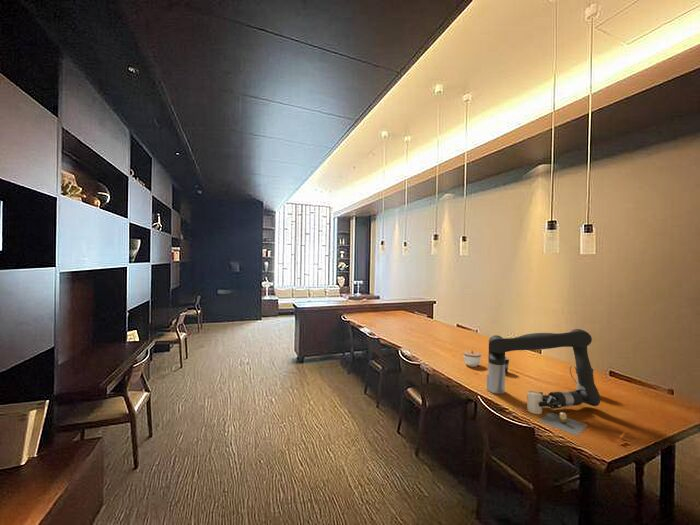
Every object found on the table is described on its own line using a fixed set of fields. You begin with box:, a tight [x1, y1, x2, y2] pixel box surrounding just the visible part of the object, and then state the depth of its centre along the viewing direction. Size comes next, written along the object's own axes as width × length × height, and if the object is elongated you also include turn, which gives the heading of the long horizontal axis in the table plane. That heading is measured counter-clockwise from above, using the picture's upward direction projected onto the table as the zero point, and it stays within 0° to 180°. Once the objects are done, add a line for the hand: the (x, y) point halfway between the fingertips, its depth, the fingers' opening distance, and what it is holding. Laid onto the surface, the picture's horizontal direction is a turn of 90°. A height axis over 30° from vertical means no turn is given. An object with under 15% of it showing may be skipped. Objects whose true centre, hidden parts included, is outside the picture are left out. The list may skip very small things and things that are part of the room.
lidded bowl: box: [463, 350, 482, 368], centre depth 238 cm, size 13×13×11 cm
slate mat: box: [538, 411, 588, 436], centre depth 152 cm, size 16×15×1 cm
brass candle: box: [559, 411, 568, 424], centre depth 152 cm, size 3×3×5 cm
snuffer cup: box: [526, 390, 543, 415], centre depth 164 cm, size 6×6×10 cm
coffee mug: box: [505, 356, 510, 374], centre depth 224 cm, size 12×9×10 cm
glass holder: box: [569, 365, 594, 390], centre depth 192 cm, size 9×14×15 cm, turn 15°
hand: (533, 400), depth 164 cm, fingers open, 8 cm apart
